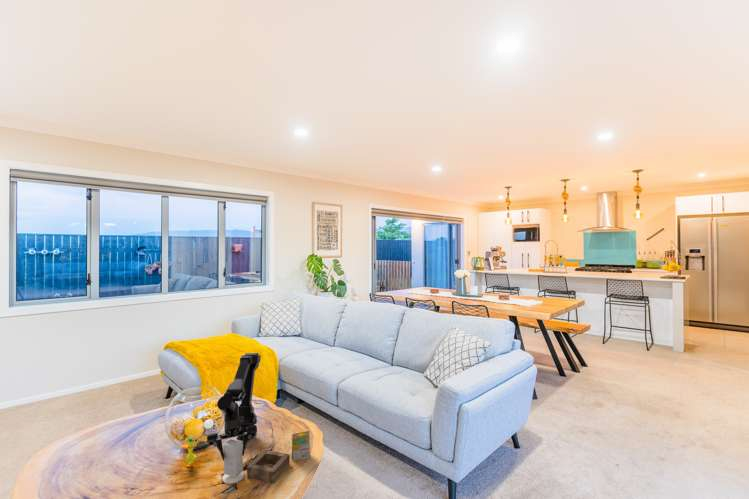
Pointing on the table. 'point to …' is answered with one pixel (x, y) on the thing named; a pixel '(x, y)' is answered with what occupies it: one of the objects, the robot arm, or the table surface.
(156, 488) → the table surface
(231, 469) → the skincare box
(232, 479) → the ceramic coaster
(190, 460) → the toy figure
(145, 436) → the table surface
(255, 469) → the walnut holder block
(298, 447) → the crayon box
